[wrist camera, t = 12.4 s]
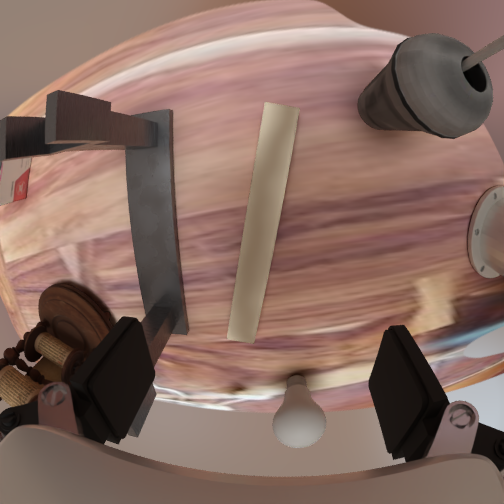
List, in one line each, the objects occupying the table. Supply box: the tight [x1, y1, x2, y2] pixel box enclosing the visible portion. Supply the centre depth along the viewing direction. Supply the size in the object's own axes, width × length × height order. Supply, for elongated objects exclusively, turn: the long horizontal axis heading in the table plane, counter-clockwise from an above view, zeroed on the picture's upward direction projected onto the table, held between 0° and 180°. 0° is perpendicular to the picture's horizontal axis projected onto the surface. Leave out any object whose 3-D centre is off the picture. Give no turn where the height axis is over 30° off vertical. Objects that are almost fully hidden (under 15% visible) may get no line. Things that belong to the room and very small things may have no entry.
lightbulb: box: [272, 375, 326, 448], centre depth 28 cm, size 6×6×11 cm
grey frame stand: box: [0, 90, 189, 437], centre depth 20 cm, size 5×25×17 cm, turn 0°
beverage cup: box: [358, 33, 504, 139], centre depth 13 cm, size 7×7×20 cm
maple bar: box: [227, 102, 300, 344], centre depth 26 cm, size 3×24×3 cm, turn 170°
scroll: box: [0, 284, 113, 407], centre depth 24 cm, size 15×15×20 cm
